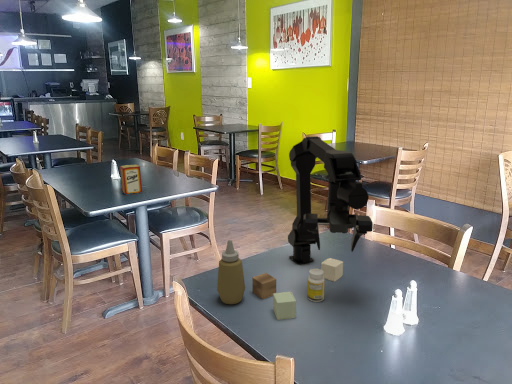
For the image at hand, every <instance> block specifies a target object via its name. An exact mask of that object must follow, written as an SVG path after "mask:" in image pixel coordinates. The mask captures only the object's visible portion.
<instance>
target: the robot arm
mask: <svg viewBox="0 0 512 384" xmlns="http://www.w3.org/2000/svg"><path fill="white" fill-rule="evenodd" d="M288 157H289V159H288V160H290V161H289V162H290V166H291V168H292V170H293V171H294V173H295V186H296V187H295V189H296V192H295V193H296V194H295V195H296V217H295V219H294V220H293V222H292V223H291V224H292V227H291V230H290V232H289V234H288V235H287V241H288V242H287V243H289V244H290V245H291V246H292V250H293V251H292V255H289V257H288V258H289V259H290V260H291V261H293V262H294V263H295V264H297V265H302V264H307V263H312V262H314V261H315V259H314V258H313V257H311V254H312V253H311V245H316V246H317V249H318V250H319V251H321V240H320V232H319V231H320V230H319V229H320V228H319V226H329V227H328V229H329V232H330V233H331V234H336V233H341V234H348V232H349V229H353V232H352V237H351V243H350V251H351V253H353V252H354V250H355V247H356V246H357V244H358V242H359V239H360V238H361V237H362V236H363V235H367V233H370V232H373V227H374V225H373V224H374V223H373V221H372V218H371V217H370V215H361V214H360V215H358V214H355V213H354V214H352V213H349V208H351V209H353V210H361V209H363V208H364V207H366V205H367V204H368V202H369V198H370V196H369V193H368V191H367V190H366V189H365V188H364V187H363V182H361V180H362V177H361V171H360V169H359V166H358V162H357V159H356V157H355V155H354V154H353V153H352V152H350V151H346V150H339V149H335V148H334V147H333V146H331V145H330V144H328V143H327V142H325V141H323V140H322V138H321V137H320V136H305V137H304V138H303V139H302V140H301V141H299V142H298V143H296V144H294V145H293V146H292V148H291V149H290V150H289V153H288ZM317 159H319V160H320V161H321V162H323V168H324V169H325V171H326V172H327V173H326V174H327V175H326V176H325V178H326V180H328V191H327V208H326V209H327V211H326V217H318V213H312V187H311V186H312V183H311V181H312V180H311V179H312V178H311V174H312V172H313V170H314V169H315V166H316V160H317Z"/></svg>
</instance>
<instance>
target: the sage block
mask: <svg viewBox="0 0 512 384" xmlns="http://www.w3.org/2000/svg"><path fill="white" fill-rule="evenodd" d="M272 310H273V313H274V315H275V317H276V320H277V321H279V320H289V319H295V318H297V300H296V298H295V296H294V294H293V292H292V291H283V292H276V293H273V296H272Z"/></svg>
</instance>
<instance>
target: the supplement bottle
mask: <svg viewBox="0 0 512 384" xmlns="http://www.w3.org/2000/svg"><path fill="white" fill-rule="evenodd" d="M323 276H324V272H323V270H321V268H316V267H315V268H310V270H309V273H308V277H307V299H308V300H309V301H311V302H314V303H320V302H322V301H324V299H325V285H326V284H325V282H326V279H325V278H324V277H323Z"/></svg>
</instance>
